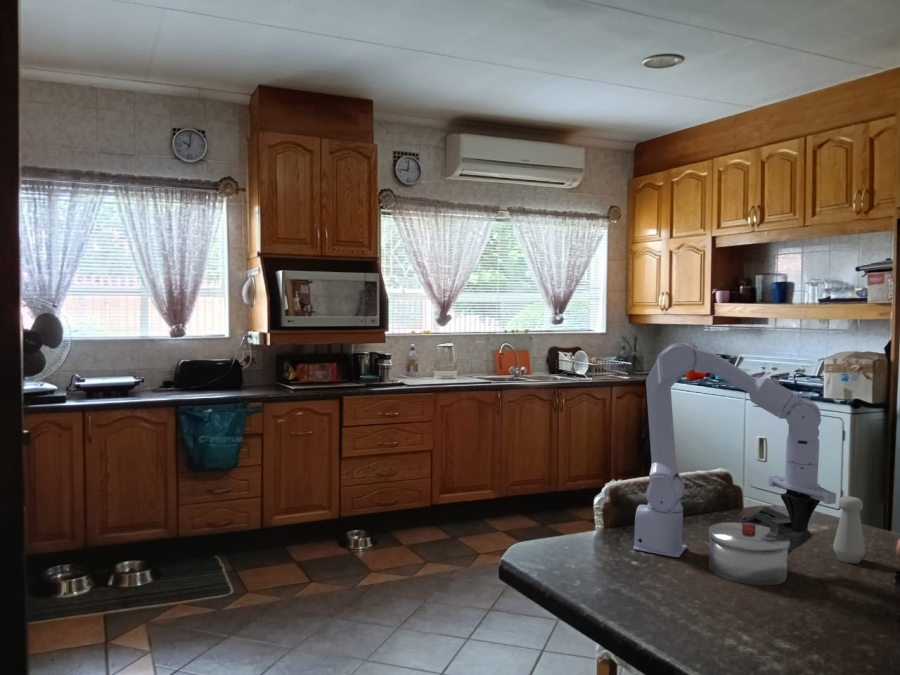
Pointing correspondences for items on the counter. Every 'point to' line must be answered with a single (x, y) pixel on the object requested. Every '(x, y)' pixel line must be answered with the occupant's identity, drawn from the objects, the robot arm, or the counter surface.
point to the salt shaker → (849, 531)
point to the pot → (748, 565)
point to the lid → (753, 535)
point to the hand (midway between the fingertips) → (799, 531)
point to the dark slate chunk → (770, 514)
